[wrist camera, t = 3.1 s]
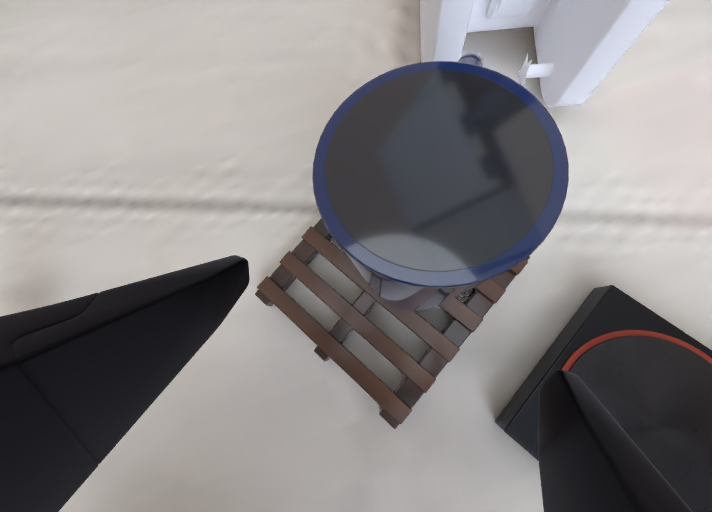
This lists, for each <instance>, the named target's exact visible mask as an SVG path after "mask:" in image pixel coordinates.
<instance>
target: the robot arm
mask: <svg viewBox="0 0 712 512" xmlns="http://www.w3.org/2000/svg"><path fill="white" fill-rule="evenodd" d="M248 284H249V267H248V261H247V260H246V259H245V258H242V257H239V256H236V255H233V256H229V257H226V258H222V259H218V260H215V261H211V262H207V263H204V264H200V265H197V266H193V267H189V268H186V269H182V270H178V271H175V272H171V273H167V274H164V275H160V276H157V277H153V278H149V279H146V280H142V281H138V282H135V283H131V284H127V285H124V286H120V287H117V288H113V289H109V290H106V291H102V292H100V293H94V294H91V295H87V296H84V297H80V298H76V299H73V300H69V301H65V302H61V303H57V304H53V305H49V306H45V307H41V308H36V309H32V310H28V311H23V312H19V313H15V314H10V315H6V316H1V317H0V512H58V511H59V510H60V509H61V508H62V507H63V506H64V504H65V503H66V502H67V501H68V500H69V499H70V498H71V496H72V495H73V494H74V493H75V492H76V491H77V490H78V488H79V487H80V486H81V485H82V484H83V483H84V481H85V480H86V479H87V478H88V477H89V476H90V475H91V473H92V472H93V471H94V470H95V469H96V468H97V467H98V464H99V463H101V462H102V460H103V459H104V458H105V457H106V456H107V455H108V454H109V452H110V451H111V450H112V449H113V448H114V447H115V446H116V444H117V443H118V442H119V441H120V440H121V439H122V437H123V436H124V435H125V434H126V433H127V432H128V431H129V429H130V428H131V427H132V426H133V425H134V424H135V423H136V421H137V420H138V419H139V418H140V417H141V416H142V414H143V413H144V412H145V411H146V410H147V409H148V408H149V406H150V405H151V404H152V403H153V402H154V401H155V399H156V398H157V397H158V396H159V395H160V394H161V393H162V391H163V390H164V389H165V388H166V387H167V386H168V385H169V383H170V382H171V381H172V380H173V379H174V378H175V376H176V375H177V374H178V373H179V372H180V371H181V370H182V368H183V367H184V366H185V365H186V364H187V363H188V362H189V360H190V359H191V358H192V357H193V356H194V355H195V353H196V352H197V351H198V350H199V349H200V348H201V347H202V345H203V344H204V343H205V342H206V341H207V340H208V339H209V337H210V336H211V335H212V334H213V333H214V332H215V330H216V329H217V328H218V327H219V326H220V324H221V323H222V322H223V320H224V319H225V318H226V316H227V315H228V313H229V312H230V310H231V309H232V308H233V306H234V305H235V303H236V302H237V301H238V299H239V298H240V296H241V295H242V293H243V292H244V291H245V289H246V288H247V286H248ZM538 454H539V467H540V477H541V487H542V497H543V506H544V512H692V510H691V509H690V508H689V507H688V506H687V504H686V503H685V502H684V501H683V500H682V498H681V497H680V496H679V495H678V494H677V493H676V491H675V490H674V489H673V488H672V487H671V485H670V484H669V483H668V482H667V481H666V479H665V478H664V477H663V476H662V475H661V474H660V472H659V471H658V470H657V469H656V468H655V466H654V465H653V464H652V463H651V462H650V460H649V459H648V458H647V457H646V456H645V455H644V453H643V452H642V451H641V450H640V449H639V447H638V446H637V445H636V444H635V443H634V441H633V440H632V439H631V438H630V437H629V436H628V434H627V433H626V432H625V431H624V430H623V428H622V427H621V426H620V425H619V424H618V422H617V421H616V420H615V419H614V418H613V417H612V415H611V414H610V413H609V412H608V411H607V409H606V408H605V407H604V406H603V405H602V403H601V402H600V401H599V400H598V399H597V397H596V396H595V395H594V394H593V393H592V392H591V390H590V389H589V388H588V387H587V386H586V384H585V383H584V382H583V381H582V380H581V379H580V377H579V376H577V375H576V374H573V373H570V372H568V371H565V370H562V369H558V370H556V371H555V372H554V373H553V374H552V375H551V376H550V378H549V379H548V380H547V381H546V382H545V383H544V384H543V386H542V387H541V389H540V392H539V433H538Z"/></svg>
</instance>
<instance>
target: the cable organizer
mask: <svg viewBox="0 0 712 512" xmlns="http://www.w3.org/2000/svg"><path fill="white" fill-rule="evenodd" d="M668 1H669V0H420V26H421V62H432V61H454V62H458V60H459V59H460V58H461V54H462V50H463V46H464V42H465V38H466V34H467V32H478V31H489V30H500V29H511V28H522V27H533V28H534V36H535V45H536V53H537V61H538V64H531V62H532V60H533V59H532V60H531V61H529V62H528V53H527V56H526V59H525V62H524V65H523V67H522V68H521V70H520V71H519V72H518V75H519V78H520V79H519V83H518V84H521V83H523V84H525V82H526V78H536V77H539V78H540V86H541V93H542V96H543V99H544V101H545V103H546V104H547V105H548V106H570V105H579V104H581V103H583V102H584V101H585V100H586V99H587V98H588V97H589V96H590V94H591V93H592V92H593V91H594V90H595V88H596V87H597V86H598V85H599V84H600V82H601V81H602V80H603V79H604V78H605V76H606V75H607V74H608V73H609V72H610V70H611V69H612V68H613V67H614V66H615V65H616V63H617V62H618V61H619V60H620V59H621V57H622V56H623V55H624V54H625V53H626V51H627V50H628V49H629V48H630V47H631V45H632V44H633V43H634V42H635V41H636V39H637V38H638V37H639V36H640V35H641V33H642V32H643V31H644V30H645V29H646V27H647V26H648V25H649V24H650V23H651V22H652V20H653V19H654V18H655V17H656V16H657V14H658V13H659V12H660V11H661V10H662V8H663V7H664V6H665V5H666V4H667V2H668ZM479 57H480V55H479ZM482 62H483V59H482Z"/></svg>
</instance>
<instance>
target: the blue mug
mask: <svg viewBox="0 0 712 512" xmlns="http://www.w3.org/2000/svg"><path fill="white" fill-rule="evenodd" d="M567 187H568V159H567V152H566V148H565V145H564V141H563V138H562V135H561V133H560V131H559V129H558V127H557V125H556V123H555V121H554V119H553V118H552V116H551V115H550V114H549V112H548V111H547V109H546V108H545V107H544V106H543V105H542V103H541V102H540V101H539V100H538V99H537V98H536V97H535V96H534V95H533V94H531V93H530V92H529V91H528V90H527V89H526V88H524V87H523V86H521V85H520V84H518V83H517V82H515V81H514V80H512V79H511V78H509V77H507V76H505V75H502V74H500V73H498V72H496V71H493V70H491V69H488V68H485V67H482V60H481V58H480V57H479V56H478V55H477V54H474V53H468V54H465V55H463V56H462V57H461V58H460V59H459V60H458V62H454V61H432V62H421V63H416V64H411V65H406V66H403V67H400V68H397V69H394V70H391V71H389V72H386V73H384V74H382V75H379V76H378V77H376V78H374V79H372V80H371V81H369V82H367V83H365V84H364V85H363V86H361V87H360V88H359V89H357V90H356V91H354V92H353V93H352V94H351V95H350V96H349V97H348V98H347V99H346V100H345V101H344V102H343V103H342V104H341V105H340V106H339V108H338V109H337V110H336V111H335V112H334V114H333V115H332V117H331V118H330V120H329V121H328V123H327V124H326V126H325V128H324V131H323V133H322V135H321V137H320V140H319V143H318V146H317V148H316V153H315V158H314V163H313V189H314V195H315V200H316V204H317V207H318V210H319V212H320V215H321V218H322V220H323V222H324V224H325V225H326V227H327V229H328V231H329V233H330V234H331V235H332V237H333V238H334V240H335V241H336V242H337V244H338V245H339V247H340V248H341V250H342V251H343V252H344V254H345V255H346V257H347V258H348V259H349V261H350V262H351V264H352V265H353V266H354V268H355V269H356V271H357V272H358V274H359V275H360V276H361V278H362V279H363V281H364V282H365V283H366V285H367V286H368V288H369V289H370V290H371V291H372V292H373V293H374V294H375V295H376V297H378V298H379V299H380V300H382V301H383V302H385V303H387V304H388V305H390V306H393V307H395V308H399V309H402V310H409V311H420V310H427V309H431V308H434V307H436V306H439V305H441V304H443V303H445V302H447V301H449V300H451V299H453V298H455V297H457V296H459V295H461V294H463V293H465V292H467V291H469V290H471V289H473V288H475V287H477V286H478V285H480V284H482V283H484V282H486V281H488V280H490V279H492V278H494V277H496V276H498V275H500V274H502V273H504V272H506V271H507V270H509V269H511V268H513V267H514V266H516V265H518V264H519V263H520V262H522V261H523V260H524V259H525V258H527V257H528V256H529V255H531V254H532V253H533V252H534V251H535V250H536V248H537V247H538V246H539V245H540V244H541V243H542V242H543V241H544V240H545V238H546V237H547V236H548V234H549V233H550V231H551V230H552V229H553V227H554V225H555V223H556V221H557V219H558V217H559V215H560V213H561V210H562V207H563V204H564V201H565V198H566V193H567Z"/></svg>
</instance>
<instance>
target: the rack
mask: <svg viewBox="0 0 712 512" xmlns="http://www.w3.org/2000/svg"><path fill="white" fill-rule="evenodd" d="M331 237H332V235H331V234H330V233H329V231H328V229H327V227H326V225H325V224H324V222H323V220H322V218H321V220H320V221H319V222H318V223H317V224H316V225H315V226H314V228H313V227H310V228H309V229H308V230H307V232H306V233H305V234H304V235H303V236H302V238H303V240H302V241H301V242H300V243H299V245H298V246H297V247H296V248H295V249H294V250H293V251H292V252H290V251H289V252H288V253H287V254H286V255H285V256H284V258H283V259H282V260H281V261H280V263H281V265H280V266H279V267H278V268H277V269H276V271H275V272H274V273H273V274H272V275H271V276H270V277H268V276H267V277H266V278H265V279H264V280H263V281H262V282H261V284H260V285H259V286H258V287H257V288H258V289H259V290H258V291H257V292H256V293H255V295H256V296H257V297H258V298H259V299H260V300H261V301H262V302H263V303H264V304H266V305H268V306H272V305H273V304H275V305H276V306H277V307H278V308H279V309H280V310H281V311H282V312H283V313H284V314H285V315H286V316H287V317H288V318H289V319H290V320H291V321H293V322H294V323H295V324H296V325H297V326H298V327H299V328H300V329H301V330H302V331H303V332H304V333H305V334H306V335H307V336H308V337H309V338H310V339H311V340H312V341H314V342H315V343H316V344H317V345H318V346H317V347H316V349H315V350H314V351H315V353H316V354H318V355H319V356H320V357H321V358H322V359H323V360H324V361H327V360H329V358H331V359H332V360H333V361H334V362H336V363H337V364H338V365H339V366H340V367H341V368H342V369H343V370H344V371H345V372H346V373H347V374H348V375H349V376H350V377H351V378H352V379H353V380H354V381H355V382H357V383H358V384H359V385H360V386H361V387H362V388H363V389H364V390H365V391H366V392H367V393H368V394H369V395H370V396H371V397H372V398H373V399H374V400H375V401H376V402H378V403H379V404H380V405H381V406H382V408H381V410H380V413H379V414H380V415H381V416H382V417H383V418H384V419H385V420H386V421H387V422H388V423H389V424H390V425H391V426H392V427H393V428H394V429H396V428H397V426H398V425H399V424H402V422H403V421H404V420H405V419H406V417H407V416H408V415H409V413H410V412H411V411H412V407H413V406H414V405H415V403H416V402H417V401H418V400H419V398H420V397H421V396H422V395H423V393H424V392H425V393H426V392H427V391H428V389H429V388H430V387H431V385H432V384H433V383H434V382H435V380H436V377H437V375H438V374H439V373H440V372H441V370H442V369H443V368H444V366H445V365H446V364H447V363H448V362H450V361H451V360H452V359H453V357H454V356H455V355H456V353H457V352H458V351H459V350H460V348H459V347H460V346H461V345H462V343H463V342H464V341H465V340H466V338H467V337H468V336H469V335H470V333H471V332H474V330H475V329H476V328H477V327H478V325H479V324H480V323H481V322H482V320H483V317H484V315H485V314H486V313H487V312H488V310H489V309H490V308H491V306H492V305H493V304H494V303H496V302H497V301H498V300H499V299H500V297H501V296H502V295H503V293H504V292H505V291H506V290H505V289H506V287H507V286H508V285H509V283H510V282H511V281H512V280H513V278H514V277H515V276H516V275H518V274H519V273H520V272H521V270H522V269H523V268H524V267H525V265H526V264H527V263H528V259H529V258H530V256H528V257H527V258H525V259H524V260H523V261H522V262H520V263H519V264H518V265H516V266H514V267H513V268H511V269H509V270H507V271H506V272H504V273H502V274H500V275H498V276H496V277H494V278H492V279H490V280H488V281H486V282H484V283H482V284H480V285H478V286H477V287H475V288H474V289H476V290H475V291H474V293H473V294H472V295H471V296H470V298H469V299H468V300H467V301H466V303H465V304H463V303H462V302H461V301H459V300H458V299H457V298H456V297H455V298H453V299H451V300H449V301H447V302H445V303H443V304H441V305H439V307H440V308H442V309H443V310H444V311H445V312H447V313H448V314H449V315H450V316H452V317H453V319H452V320H451V321H450V323H449V324H448V325H447V327H446V328H445V329H444V330H443V332H442V333H440V332H439V331H438V330H437V329H436V328H434V327H433V326H432V325H431V324H429V323H428V322H427V321H426V320H425V319H423V318H422V317H421V316H420V315H419V314H417V313H416V312H415V311H409V310H402V309H399V308H395V307H393V306H390V305H388V304H387V303H385V302H383V301H382V300H380V299H379V298H378V297H376V295H375V294H374V293H373V292H372V291H371V290H370V289H369V288H368V286H367V285H366V283H365V282H364V281H363V279H362V278H361V276H360V275H359V274H358V272H357V271H356V269H355V268H354V266H353V265H352V264H351V262H350V261H349V259H348V258H347V257H346V255H345V254H344V253H343V252H342V251H341V250H340V249H338V248H337V247H336V246H335V245H333V244H332V243H331V242H330V241H329V239H330V238H331ZM318 252H319V253H320V254H321V255H323V256H324V257H325V258H326V259H327V260H329V261H330V262H331V263H332V264H333V265H335V266H336V267H337V268H338V269H339V270H340V271H342V272H343V273H344V274H345V275H346V276H348V277H349V278H350V279H351V280H352V281H353V282H355V283H356V284H357V285H358V286H359V287H361V288H362V289H363V290H364V291H363V293H362V294H361V295H360V296H359V297H358V299H357V300H356V301H355V302H354V303H353V305H351V304H350V303H349V302H348V301H347V300H345V299H344V298H343V297H342V296H341V295H340V294H339V293H337V292H336V291H335V290H334V289H333V288H332V287H331V286H329V285H328V284H327V283H326V282H325V281H324V280H323V279H321V278H320V277H319V276H318V275H317V274H316V273H315V272H313V271H312V270H311V269H310V268H309V267H308V266H307V265H308V263H309V262H310V261H311V260H312V259H313V258H314V257H315V255H316V254H317V253H318ZM295 278H298V279H299V280H300V281H301V282H302V283H303V284H304V285H305V286H306V287H308V288H309V289H310V290H311V291H312V292H313V293H314V294H315V295H316V296H318V297H319V298H320V299H321V300H322V301H323V302H324V303H325V304H327V305H328V306H329V307H330V308H331V309H332V310H333V311H334V312H335V313H337V314H338V315H339V316H340V317H341V319H340V320H339V321H338V322H337V324H336V325H335V326H334V327H333V328H332V330H331V331H330V332H328V331H327V330H326V329H325V328H324V327H323V326H322V325H321V324H320V323H319V322H317V321H316V320H315V319H314V318H313V317H312V316H311V315H310V314H309V313H308V312H307V311H306V310H304V309H303V308H302V307H301V306H300V305H299V304H298V303H297V302H296V301H295V300H294V299H293V298H292V297H290V296H289V295H288V294H287V293H286V292H285V290H286V289H287V287H288V286H289V285H290V284H291V283H292V282H293V281H294V279H295ZM376 302H378V303H379V304H381V305H382V306H383V307H384V308H385V309H387V310H388V311H389V312H390V313H391V314H392V315H394V316H395V317H396V318H397V319H398V320H400V321H401V322H402V323H403V324H404V325H405V326H407V327H408V328H409V329H410V330H411V331H413V332H414V333H415V334H416V335H417V336H418V337H420V338H421V339H422V340H423V341H424V342H426V343H427V344H428V345H429V346H430V348H429V349H428V350H427V352H426V353H425V354H424V355H423V357H422V358H421V359H420V360H419V362H416V361H415V360H414V359H413V358H412V357H411V356H410V355H408V354H407V353H406V352H405V351H404V350H403V349H402V348H400V347H399V346H398V345H397V344H396V343H395V342H394V341H392V340H391V339H390V338H389V337H388V336H387V335H386V334H384V333H383V332H382V331H381V330H380V329H379V328H378V327H376V326H375V325H374V324H373V323H372V322H371V321H370V320H368V319H367V318H366V317H365V315H366V314H367V313H368V312H369V310H370V309H371V308H372V307H373V306H374V304H375V303H376ZM353 330H355V331H357V332H358V333H359V334H360V335H361V336H362V337H363V338H364V339H366V340H367V341H368V342H369V343H370V344H371V345H372V346H373V347H374V348H376V349H377V350H378V351H379V352H380V353H381V354H382V355H383V356H384V357H386V358H387V359H388V360H389V361H390V362H391V363H392V364H393V365H395V366H396V367H397V368H398V369H399V370H400V371H401V372H402V373H403V374H405V375H406V376H407V377H406V378H405V379H404V381H403V382H402V383H401V384H400V386H399V387H398V388H397V389H396V391H395V392H393V391H392V390H391V389H390V388H389V387H388V386H387V385H385V384H384V383H383V382H382V381H381V380H380V379H379V378H378V377H377V376H376V375H375V374H374V373H372V372H371V371H370V370H369V369H368V368H367V367H366V366H365V365H364V364H363V363H362V362H361V361H360V360H358V359H357V358H356V357H355V356H354V355H353V354H352V353H351V352H350V351H349V350H348V349H347V348H346V347H344V346H343V345H342V343H343V342H344V340H345V339H346V338H347V337H348V336H349V334H350V333H351V332H352V331H353Z"/></svg>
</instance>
